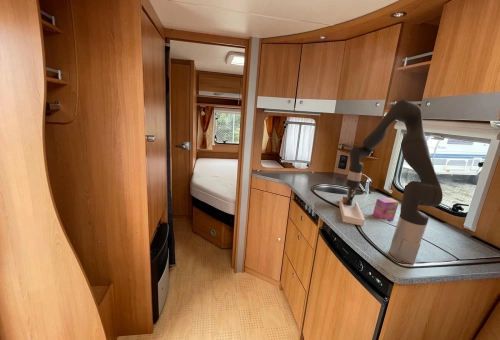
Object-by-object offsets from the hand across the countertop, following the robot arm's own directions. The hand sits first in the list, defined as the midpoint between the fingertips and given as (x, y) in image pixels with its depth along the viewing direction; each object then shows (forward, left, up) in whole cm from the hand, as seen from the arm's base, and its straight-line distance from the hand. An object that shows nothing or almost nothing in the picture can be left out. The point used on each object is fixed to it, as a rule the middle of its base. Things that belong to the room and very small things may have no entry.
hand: (348, 204), depth 138 cm
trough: (-12, 0, -2) cm, 12 cm away
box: (-6, -19, -3) cm, 20 cm away
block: (+4, 0, -2) cm, 4 cm away
